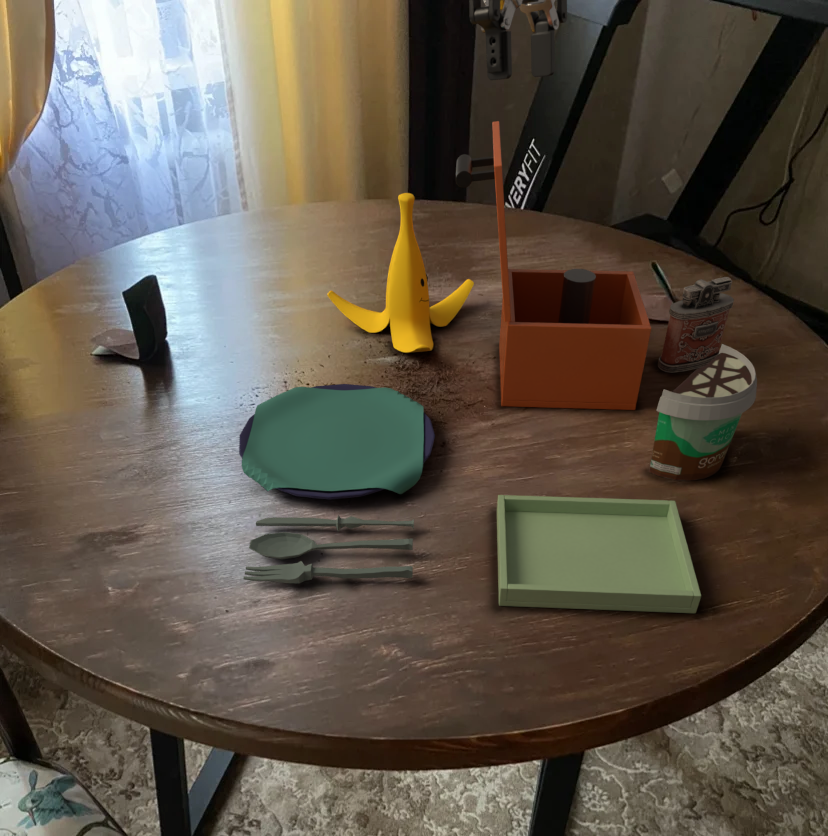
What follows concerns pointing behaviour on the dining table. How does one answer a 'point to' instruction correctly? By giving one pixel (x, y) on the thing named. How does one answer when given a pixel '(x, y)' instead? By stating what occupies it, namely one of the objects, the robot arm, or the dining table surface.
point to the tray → (594, 554)
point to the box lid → (467, 177)
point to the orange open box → (572, 344)
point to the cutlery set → (333, 466)
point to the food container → (702, 417)
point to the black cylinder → (577, 296)
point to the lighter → (696, 326)
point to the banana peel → (406, 294)
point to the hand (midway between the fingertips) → (522, 77)
